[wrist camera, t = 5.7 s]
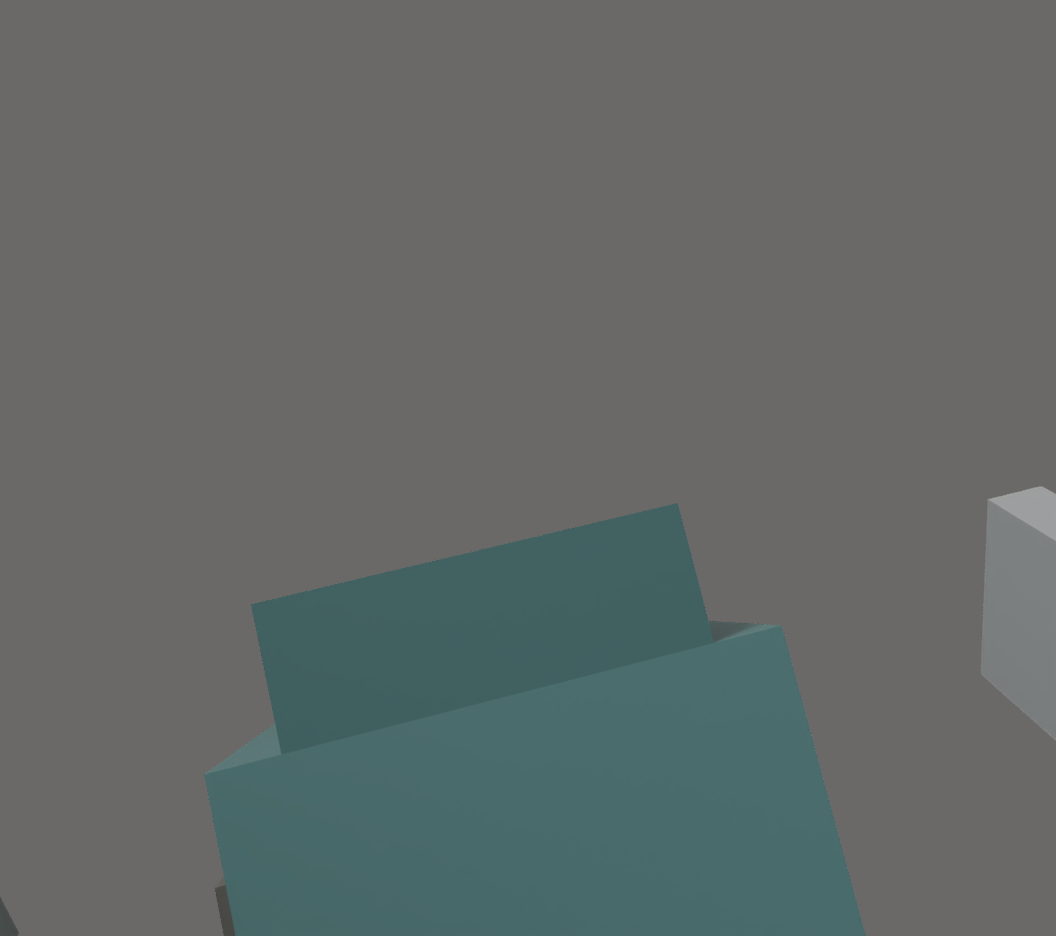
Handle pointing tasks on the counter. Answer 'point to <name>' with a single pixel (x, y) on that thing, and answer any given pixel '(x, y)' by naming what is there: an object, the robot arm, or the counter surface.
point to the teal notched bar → (529, 755)
